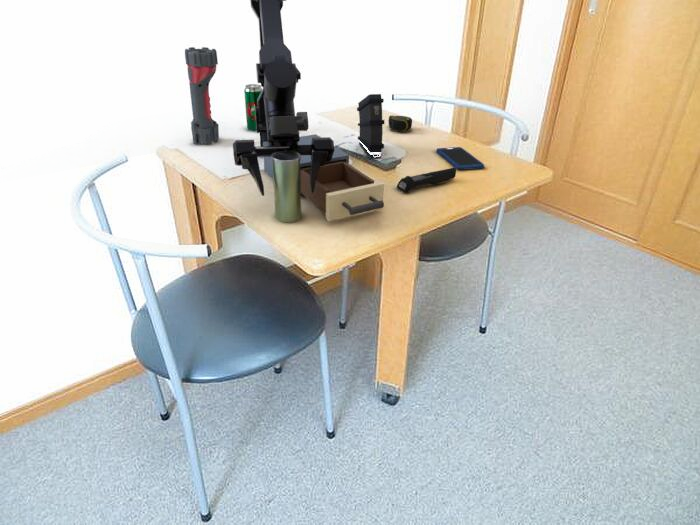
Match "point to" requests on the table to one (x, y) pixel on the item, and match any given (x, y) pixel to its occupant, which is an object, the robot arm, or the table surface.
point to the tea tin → (287, 186)
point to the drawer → (342, 190)
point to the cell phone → (460, 158)
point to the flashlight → (201, 93)
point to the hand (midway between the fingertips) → (288, 193)
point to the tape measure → (400, 123)
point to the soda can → (251, 104)
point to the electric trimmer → (425, 179)
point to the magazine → (371, 123)
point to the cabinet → (306, 156)
